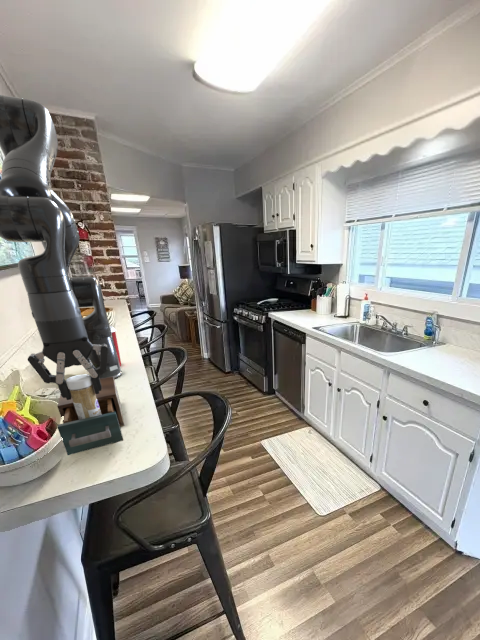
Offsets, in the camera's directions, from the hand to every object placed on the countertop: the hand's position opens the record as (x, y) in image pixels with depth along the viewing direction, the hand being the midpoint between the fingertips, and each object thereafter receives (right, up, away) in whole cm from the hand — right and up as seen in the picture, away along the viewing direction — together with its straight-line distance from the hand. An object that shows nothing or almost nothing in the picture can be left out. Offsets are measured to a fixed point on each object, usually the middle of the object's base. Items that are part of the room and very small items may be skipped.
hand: (83, 395), depth 66 cm
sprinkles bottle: (0, -9, +4) cm, 10 cm away
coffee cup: (-24, +9, +53) cm, 58 cm away
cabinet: (-5, -7, +13) cm, 16 cm away
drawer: (+1, -10, +3) cm, 11 cm away
